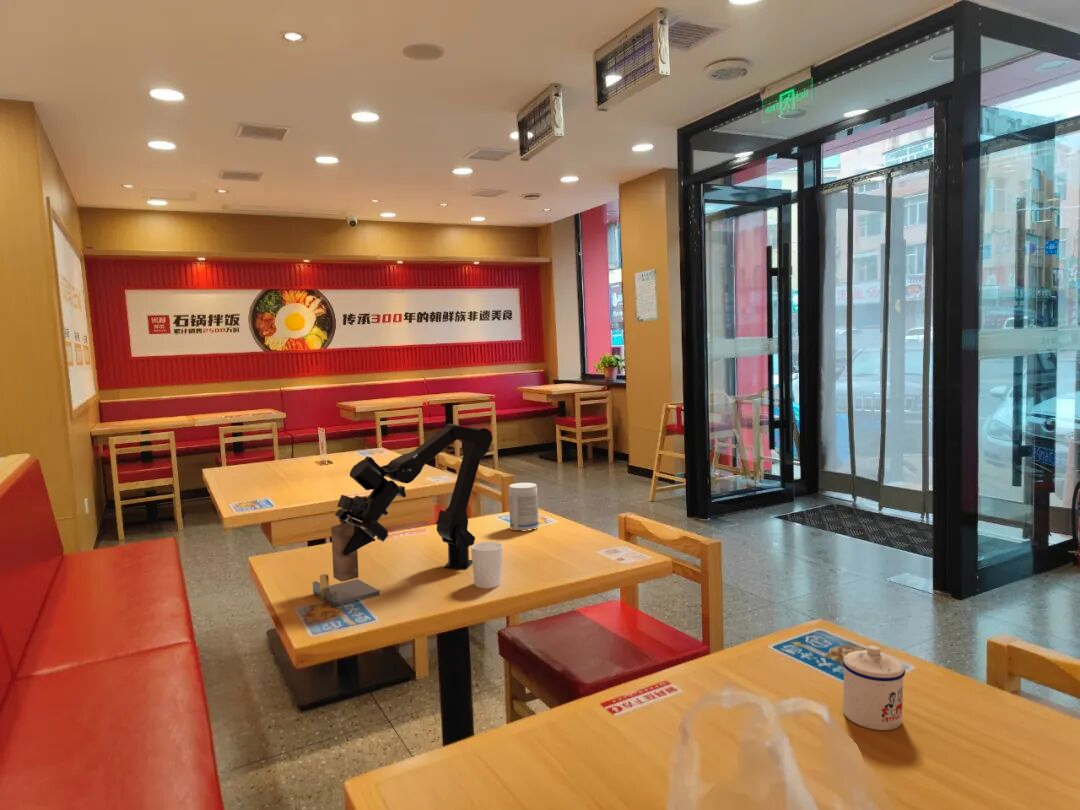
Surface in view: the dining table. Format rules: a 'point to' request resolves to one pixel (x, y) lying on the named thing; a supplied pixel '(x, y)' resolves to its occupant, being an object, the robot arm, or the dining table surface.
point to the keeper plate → (342, 590)
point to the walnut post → (343, 564)
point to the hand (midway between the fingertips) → (339, 552)
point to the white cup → (487, 564)
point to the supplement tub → (523, 506)
